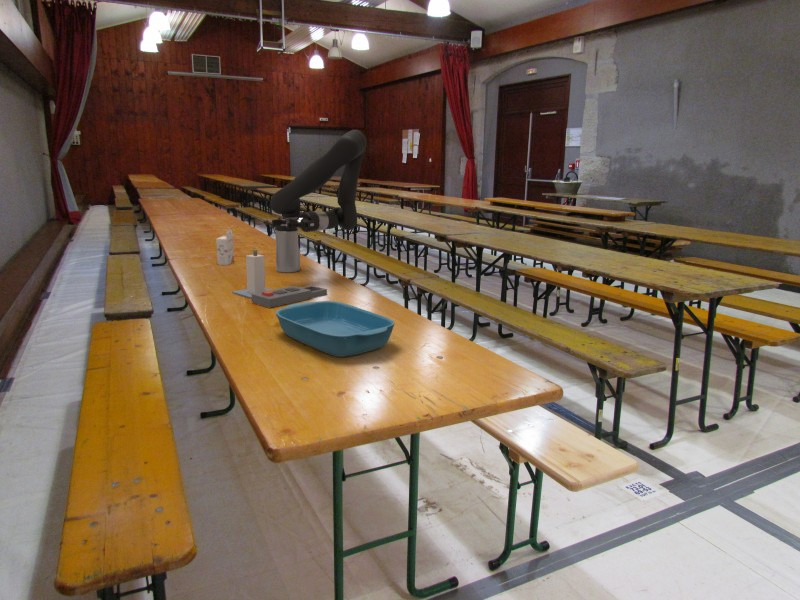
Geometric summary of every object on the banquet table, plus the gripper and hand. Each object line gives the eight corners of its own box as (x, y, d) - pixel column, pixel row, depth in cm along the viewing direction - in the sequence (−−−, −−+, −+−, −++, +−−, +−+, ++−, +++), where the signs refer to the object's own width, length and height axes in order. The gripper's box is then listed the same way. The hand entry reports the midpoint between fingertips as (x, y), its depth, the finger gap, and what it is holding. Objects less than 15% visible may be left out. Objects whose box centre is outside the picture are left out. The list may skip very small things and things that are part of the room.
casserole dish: (262, 331, 160) (262, 306, 158) (327, 318, 175) (327, 295, 173) (341, 369, 134) (342, 340, 132) (409, 350, 149) (410, 324, 147)
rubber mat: (260, 288, 209) (259, 286, 209) (281, 293, 202) (280, 292, 202) (232, 293, 200) (232, 291, 200) (253, 299, 193) (253, 297, 192)
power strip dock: (310, 290, 208) (310, 279, 207) (328, 294, 202) (328, 284, 201) (251, 302, 188) (251, 291, 187) (269, 308, 183) (269, 296, 182)
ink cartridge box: (223, 261, 256) (221, 229, 252) (234, 261, 256) (233, 229, 252) (217, 265, 248) (215, 231, 244) (228, 265, 248) (226, 232, 244)
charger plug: (257, 289, 204) (256, 248, 200) (265, 291, 201) (264, 250, 197) (247, 291, 200) (246, 249, 197) (255, 293, 198) (253, 251, 194)
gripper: (301, 209, 219) (267, 211, 207) (326, 213, 210) (293, 215, 198) (301, 229, 221) (267, 232, 209) (326, 233, 212) (293, 237, 200)
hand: (280, 224), depth 203 cm, fingers open, 8 cm apart
